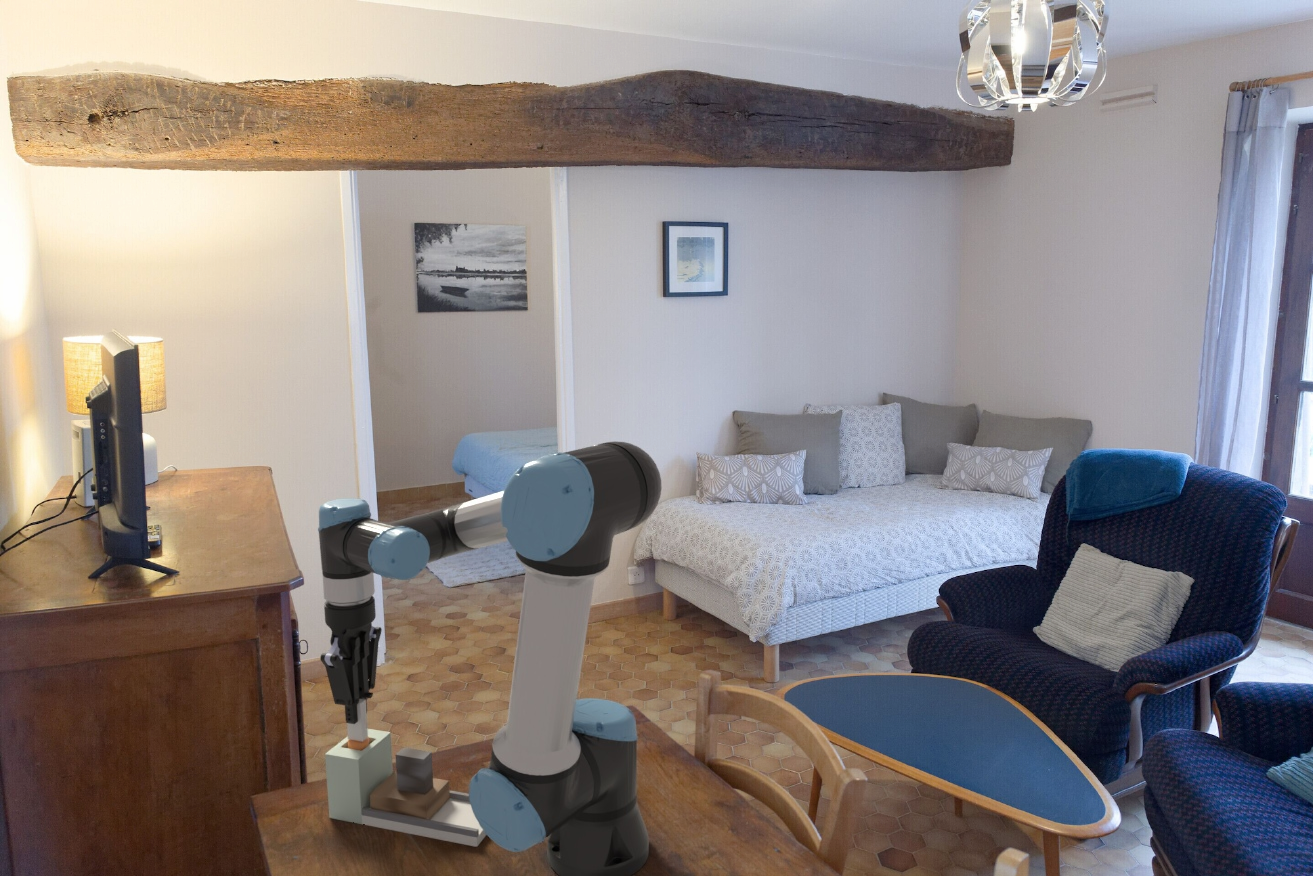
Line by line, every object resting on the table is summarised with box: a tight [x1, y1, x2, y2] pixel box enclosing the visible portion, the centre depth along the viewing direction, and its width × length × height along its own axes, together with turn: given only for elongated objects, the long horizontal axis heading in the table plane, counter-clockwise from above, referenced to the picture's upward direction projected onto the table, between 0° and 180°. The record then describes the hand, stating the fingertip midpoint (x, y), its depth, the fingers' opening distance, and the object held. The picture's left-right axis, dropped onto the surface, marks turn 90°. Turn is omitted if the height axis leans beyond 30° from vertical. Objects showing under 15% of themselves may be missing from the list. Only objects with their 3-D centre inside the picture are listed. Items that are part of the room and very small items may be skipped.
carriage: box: [370, 746, 451, 820], centre depth 146 cm, size 10×7×9 cm
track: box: [361, 789, 488, 848], centre depth 146 cm, size 20×9×2 cm, turn 73°
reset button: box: [348, 737, 369, 751], centre depth 148 cm, size 3×3×2 cm
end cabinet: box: [324, 728, 394, 825], centre depth 149 cm, size 6×9×11 cm, turn 163°
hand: (357, 738), depth 148 cm, fingers closed
